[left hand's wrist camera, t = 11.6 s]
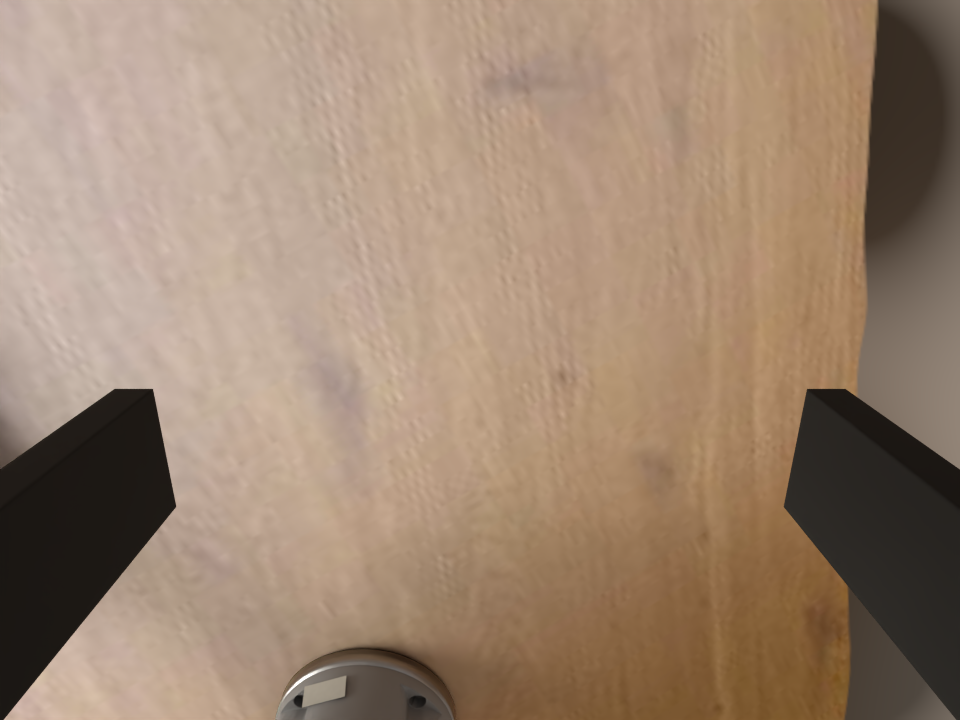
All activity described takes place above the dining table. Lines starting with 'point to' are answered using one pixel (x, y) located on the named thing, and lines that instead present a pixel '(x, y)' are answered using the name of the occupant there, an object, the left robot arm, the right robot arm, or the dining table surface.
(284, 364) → the dining table surface
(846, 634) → the dining table surface
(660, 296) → the dining table surface
